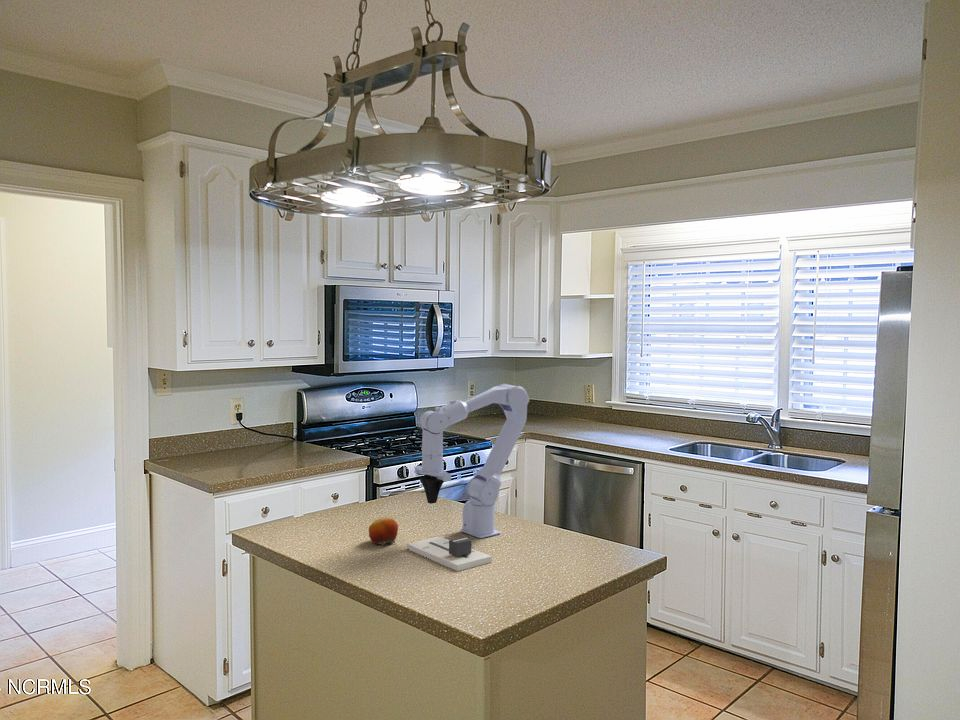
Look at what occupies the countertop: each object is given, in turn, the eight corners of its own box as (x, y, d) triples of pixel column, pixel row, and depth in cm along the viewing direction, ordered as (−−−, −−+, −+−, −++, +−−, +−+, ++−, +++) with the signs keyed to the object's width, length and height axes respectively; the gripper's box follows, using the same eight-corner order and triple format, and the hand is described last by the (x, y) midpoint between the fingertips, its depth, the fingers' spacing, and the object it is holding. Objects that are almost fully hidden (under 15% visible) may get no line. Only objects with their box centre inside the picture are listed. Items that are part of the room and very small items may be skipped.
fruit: (383, 545, 194) (374, 516, 197) (369, 554, 199) (361, 526, 202) (408, 539, 199) (399, 511, 202) (394, 548, 205) (385, 521, 207)
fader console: (406, 549, 195) (406, 543, 195) (439, 541, 202) (439, 536, 202) (457, 571, 178) (457, 564, 178) (491, 562, 185) (491, 555, 185)
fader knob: (448, 553, 186) (449, 539, 186) (462, 550, 189) (462, 536, 189) (457, 557, 184) (457, 542, 183) (471, 553, 186) (471, 539, 186)
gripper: (405, 452, 206) (405, 499, 207) (436, 459, 195) (435, 510, 196) (426, 449, 211) (425, 496, 211) (457, 457, 199) (456, 506, 200)
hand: (432, 502), depth 204 cm, fingers closed
